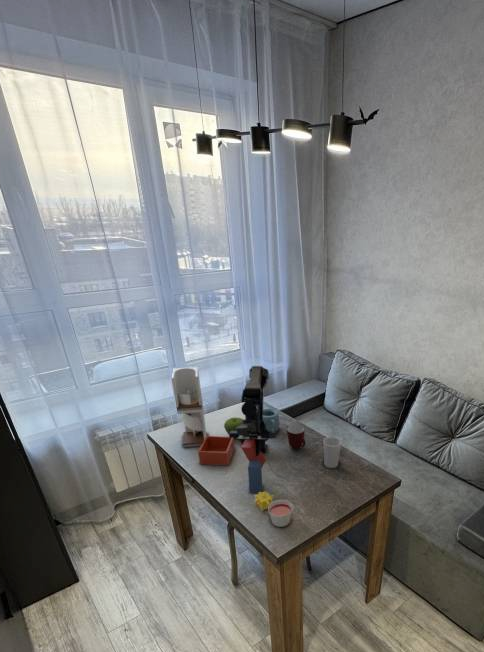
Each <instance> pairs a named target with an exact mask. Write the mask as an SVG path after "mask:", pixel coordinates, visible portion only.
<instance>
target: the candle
mask: <svg viewBox="0 0 484 652" xmlns="http://www.w3.org/2000/svg"><path fill="white" fill-rule="evenodd" d="M267 510H268V513H269V517H270V520H271V523H272V525H273V526H276V527H278V528H281V527H286V526H288V525H289V524H290V522H291V520H292V516H293V512H294V511H293V510H294V505H293V503H292V502H291V501H289V500H287V499H276V500H272V503H271V504H270V505H269V507H268V508H267Z"/></svg>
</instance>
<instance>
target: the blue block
mask: <svg viewBox="0 0 484 652" xmlns="http://www.w3.org/2000/svg"><path fill="white" fill-rule="evenodd" d="M262 469H263V468H261V461H250V462H249V461H248V465H247V474H248V489H249V493H252V494H253V493H255V494H258V492H261V493H262V489H263V474H262Z"/></svg>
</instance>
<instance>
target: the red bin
mask: <svg viewBox="0 0 484 652" xmlns="http://www.w3.org/2000/svg"><path fill="white" fill-rule="evenodd" d="M199 447H200V448H199V450H198V451H197V453H198V460H199V465H216V466H217V465H218V466H229V465H230V462H231V460H232V457H233V454H234V451H235V448H236V447H235V438H229V436H223V435H222V436H218V435H207V436H206V438H205V440H204V441H203V443H202V445H201V446H199Z"/></svg>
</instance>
